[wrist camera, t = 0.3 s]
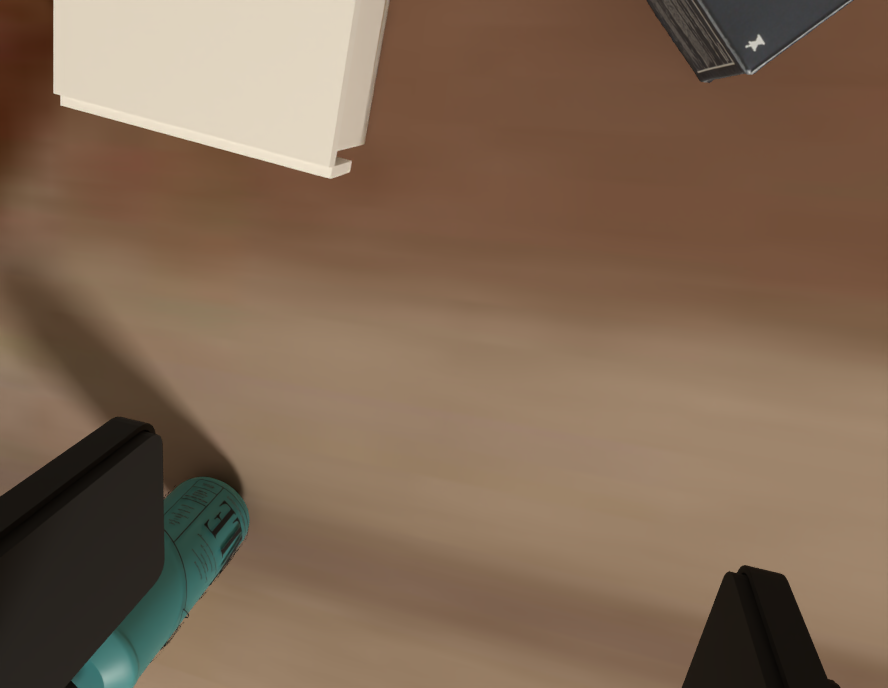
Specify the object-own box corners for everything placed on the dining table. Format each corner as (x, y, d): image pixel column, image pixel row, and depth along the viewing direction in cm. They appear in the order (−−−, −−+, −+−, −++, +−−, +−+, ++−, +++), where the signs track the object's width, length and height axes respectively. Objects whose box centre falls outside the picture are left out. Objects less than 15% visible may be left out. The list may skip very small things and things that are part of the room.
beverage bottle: (166, 486, 51) (-68, 707, 33) (224, 447, 49) (8, 662, 31) (221, 549, 52) (24, 797, 34) (281, 514, 50) (104, 760, 32)
